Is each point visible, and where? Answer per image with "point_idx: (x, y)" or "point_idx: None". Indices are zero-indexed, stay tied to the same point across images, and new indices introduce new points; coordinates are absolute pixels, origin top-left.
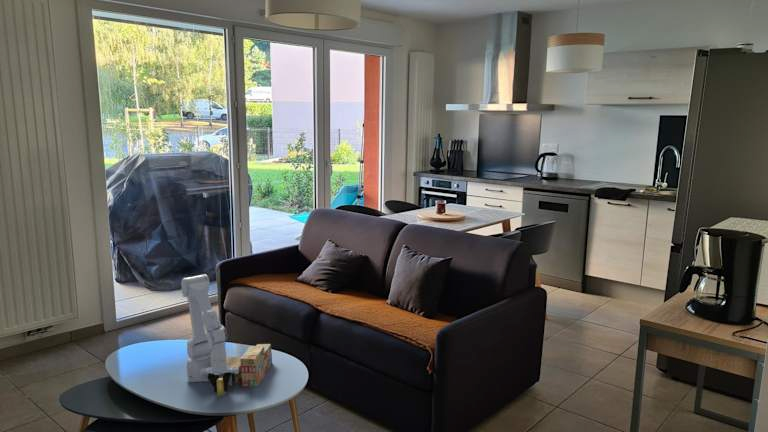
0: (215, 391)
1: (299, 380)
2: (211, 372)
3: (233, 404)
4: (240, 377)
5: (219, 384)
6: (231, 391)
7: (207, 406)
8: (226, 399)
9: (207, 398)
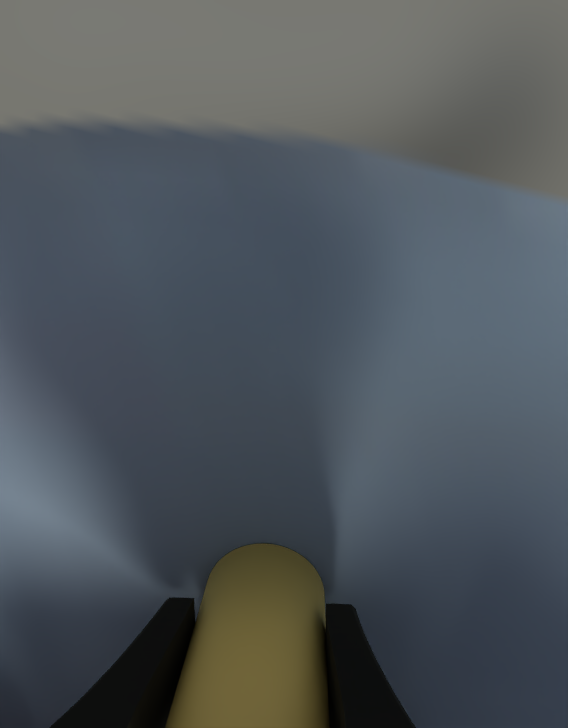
0: (341, 610)
1: None
2: None
3: None
4: None
5: (240, 712)
6: None
7: (389, 250)
8: (142, 442)
9: (447, 500)
